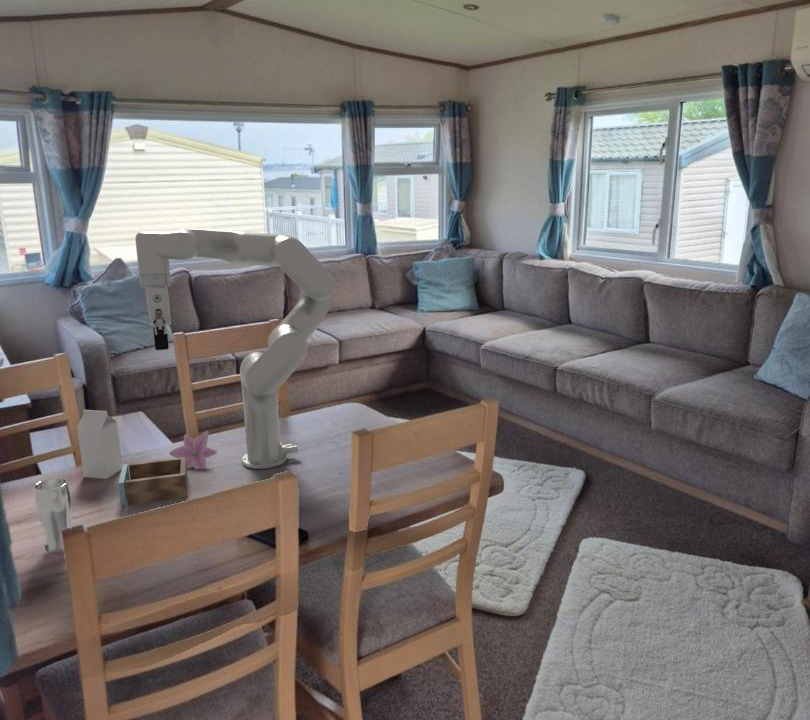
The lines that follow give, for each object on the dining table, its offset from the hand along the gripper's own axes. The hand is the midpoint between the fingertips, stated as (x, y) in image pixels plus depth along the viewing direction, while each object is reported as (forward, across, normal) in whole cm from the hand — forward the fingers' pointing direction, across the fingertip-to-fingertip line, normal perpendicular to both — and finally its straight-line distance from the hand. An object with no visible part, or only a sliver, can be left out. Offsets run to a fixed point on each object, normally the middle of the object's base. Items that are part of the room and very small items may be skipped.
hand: (161, 345), depth 181 cm
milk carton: (+37, +5, +18) cm, 41 cm away
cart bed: (+36, -13, +4) cm, 39 cm away
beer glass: (+37, -32, +25) cm, 55 cm away
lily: (+36, +1, -6) cm, 37 cm away
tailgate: (+35, -12, +11) cm, 39 cm away
